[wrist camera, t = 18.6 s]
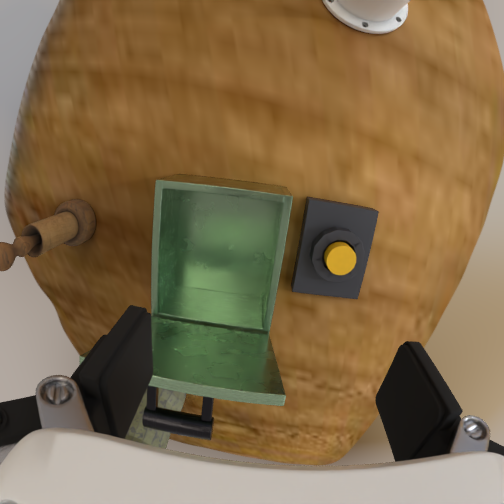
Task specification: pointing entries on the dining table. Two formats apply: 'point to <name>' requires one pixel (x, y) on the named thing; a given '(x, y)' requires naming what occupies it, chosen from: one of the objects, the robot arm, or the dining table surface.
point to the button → (340, 258)
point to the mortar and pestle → (51, 232)
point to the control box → (324, 234)
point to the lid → (207, 373)
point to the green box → (218, 251)
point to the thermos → (152, 436)
